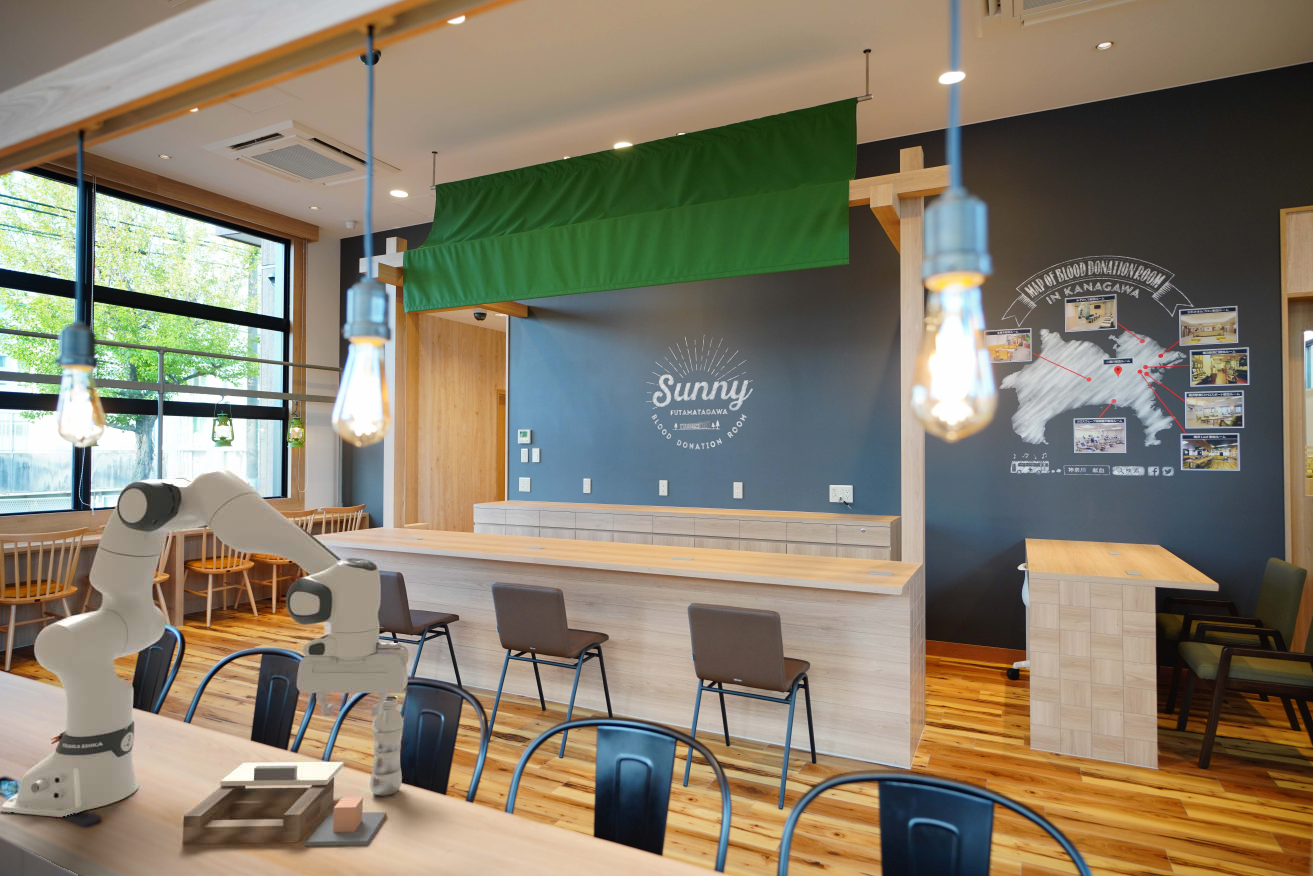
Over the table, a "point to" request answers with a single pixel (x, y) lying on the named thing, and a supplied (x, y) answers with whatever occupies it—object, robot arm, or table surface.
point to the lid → (282, 774)
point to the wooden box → (256, 814)
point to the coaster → (357, 837)
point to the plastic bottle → (387, 749)
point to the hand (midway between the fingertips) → (351, 714)
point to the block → (347, 814)
